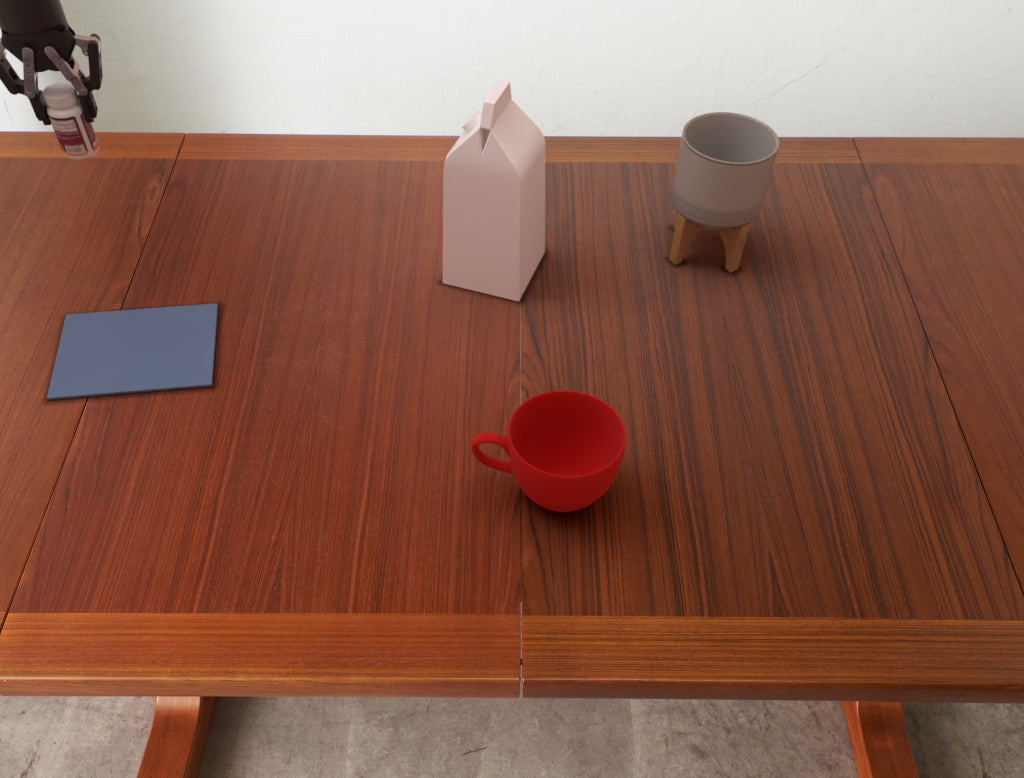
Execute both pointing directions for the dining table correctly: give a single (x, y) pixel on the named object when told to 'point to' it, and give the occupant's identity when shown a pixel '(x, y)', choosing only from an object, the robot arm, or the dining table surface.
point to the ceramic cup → (560, 449)
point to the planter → (721, 180)
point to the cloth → (135, 351)
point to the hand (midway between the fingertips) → (69, 120)
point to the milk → (494, 200)
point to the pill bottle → (70, 122)
